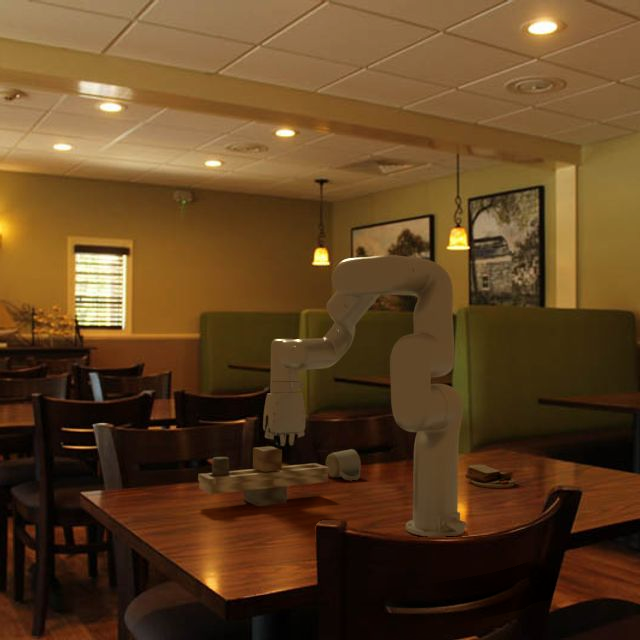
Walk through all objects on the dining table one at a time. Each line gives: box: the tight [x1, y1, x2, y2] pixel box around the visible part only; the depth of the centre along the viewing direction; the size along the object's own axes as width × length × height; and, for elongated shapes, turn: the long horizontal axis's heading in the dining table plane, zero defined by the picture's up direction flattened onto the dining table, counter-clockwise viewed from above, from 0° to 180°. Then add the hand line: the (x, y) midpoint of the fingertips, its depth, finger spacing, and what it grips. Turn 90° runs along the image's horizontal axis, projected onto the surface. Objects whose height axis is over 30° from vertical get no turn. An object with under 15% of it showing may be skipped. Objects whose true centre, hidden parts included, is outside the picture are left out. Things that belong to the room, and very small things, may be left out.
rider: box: [252, 445, 283, 473], centre depth 201 cm, size 5×6×7 cm
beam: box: [197, 456, 329, 507], centre depth 201 cm, size 33×8×12 cm, turn 120°
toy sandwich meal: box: [464, 464, 517, 489], centre depth 226 cm, size 12×14×5 cm
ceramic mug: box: [325, 448, 362, 482], centre depth 232 cm, size 11×8×8 cm
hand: (284, 460), depth 204 cm, fingers closed
